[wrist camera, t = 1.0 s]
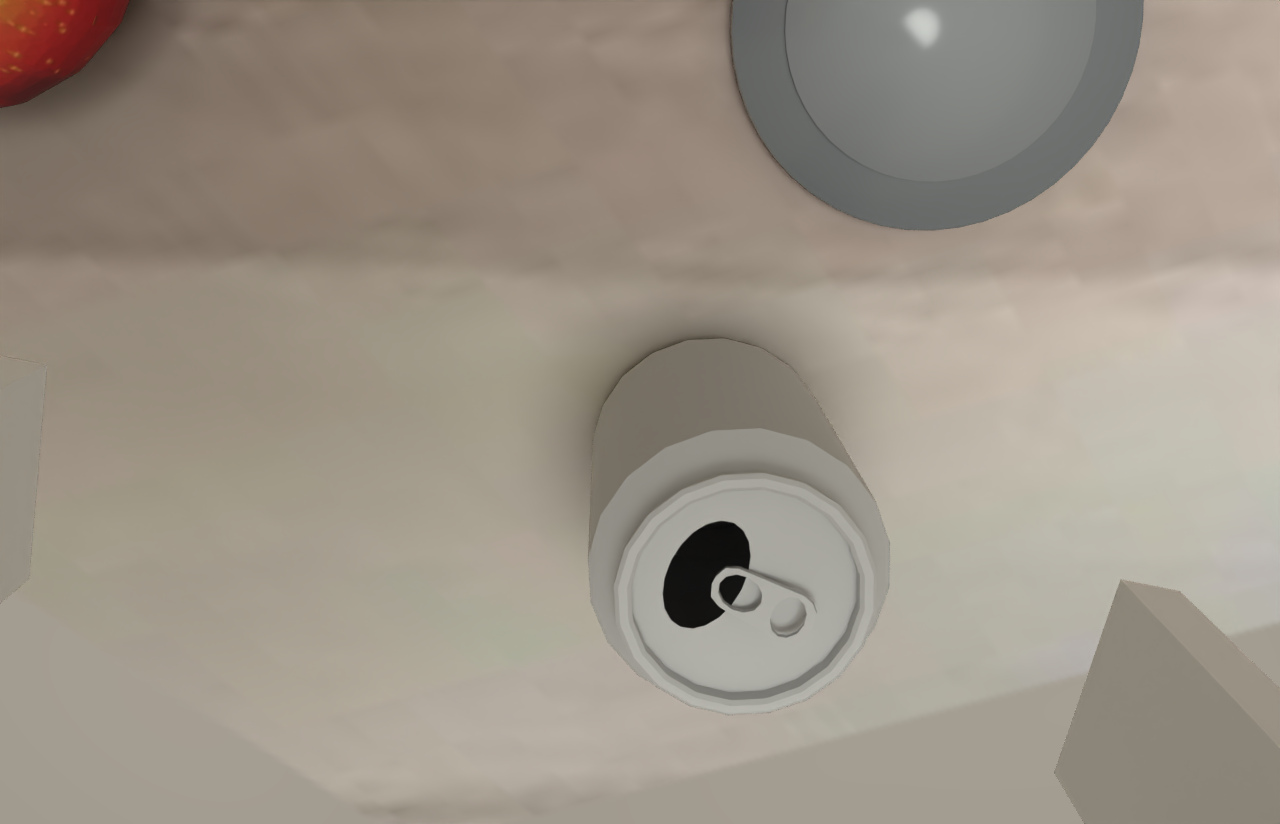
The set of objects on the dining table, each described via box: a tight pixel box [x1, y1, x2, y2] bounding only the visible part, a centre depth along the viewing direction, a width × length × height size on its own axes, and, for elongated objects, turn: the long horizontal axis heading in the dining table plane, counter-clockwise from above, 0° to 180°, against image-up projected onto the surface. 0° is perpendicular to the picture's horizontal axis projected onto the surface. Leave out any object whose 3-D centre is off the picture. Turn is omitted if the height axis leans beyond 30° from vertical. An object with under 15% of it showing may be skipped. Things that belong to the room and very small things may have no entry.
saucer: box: [730, 0, 1144, 230], centre depth 36 cm, size 12×12×1 cm
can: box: [588, 338, 890, 715], centre depth 34 cm, size 8×8×12 cm
